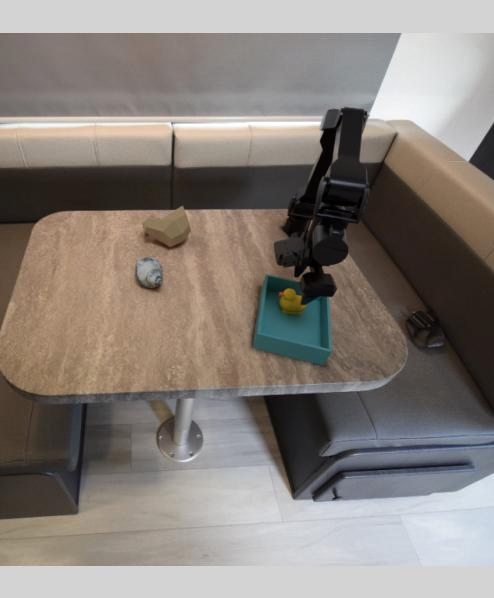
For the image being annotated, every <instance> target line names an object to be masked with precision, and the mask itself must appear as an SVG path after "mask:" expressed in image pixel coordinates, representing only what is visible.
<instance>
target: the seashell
mask: <svg viewBox="0 0 494 598" xmlns="http://www.w3.org/2000/svg"><path fill="white" fill-rule="evenodd" d="M135 278H136V280H137V282H138V283H139V284H140V285H141V286H142V287H143V288H147V289H154V288H156V287H158V286H161V285H162V284H163V266H162V265H161V263H160V262H159V260H158V259H156V258H155V257H152V256H145V257H143V258H137V259H136V261H135Z"/></svg>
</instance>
